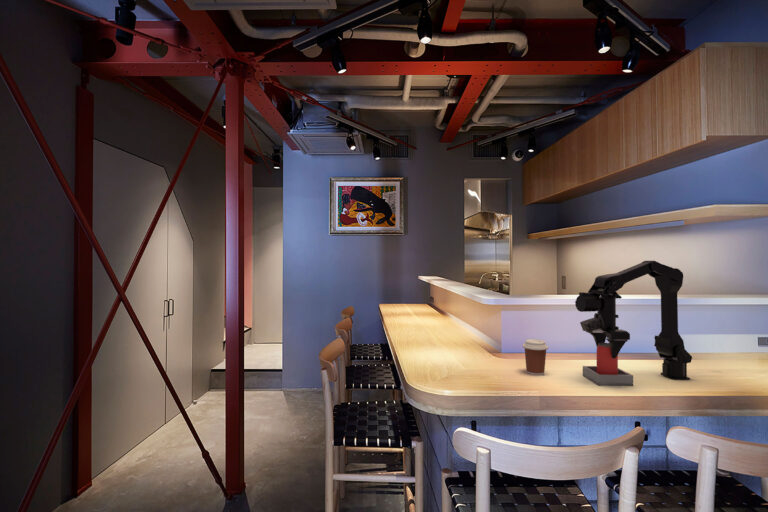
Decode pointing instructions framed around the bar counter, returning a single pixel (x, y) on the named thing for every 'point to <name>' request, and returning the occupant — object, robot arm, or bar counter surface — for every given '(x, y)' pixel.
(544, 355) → the coffee cup
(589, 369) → the tray
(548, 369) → the bar counter surface
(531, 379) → the bar counter surface
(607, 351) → the beer can
